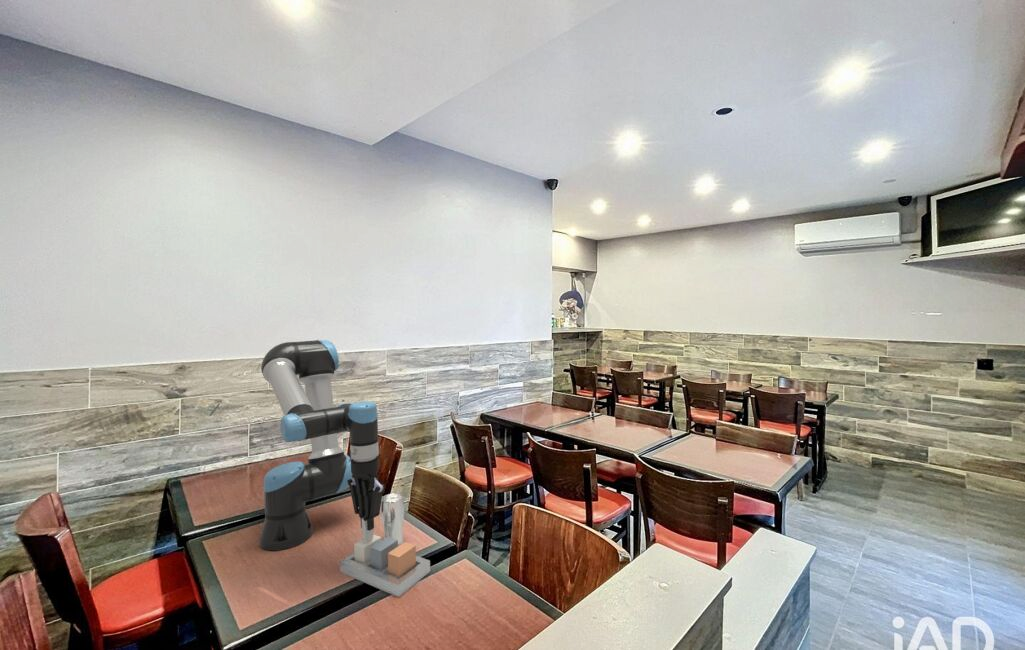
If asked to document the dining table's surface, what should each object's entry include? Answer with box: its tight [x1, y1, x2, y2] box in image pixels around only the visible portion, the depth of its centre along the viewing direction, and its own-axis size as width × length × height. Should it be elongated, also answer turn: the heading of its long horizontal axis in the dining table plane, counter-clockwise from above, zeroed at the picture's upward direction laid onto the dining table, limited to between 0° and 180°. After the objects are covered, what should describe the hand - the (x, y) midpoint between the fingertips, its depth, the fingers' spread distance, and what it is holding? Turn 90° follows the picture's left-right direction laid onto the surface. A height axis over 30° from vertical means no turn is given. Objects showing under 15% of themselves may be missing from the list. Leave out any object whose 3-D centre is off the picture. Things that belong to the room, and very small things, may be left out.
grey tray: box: [339, 552, 431, 598], centre depth 118 cm, size 22×12×4 cm, turn 60°
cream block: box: [353, 534, 382, 565], centre depth 121 cm, size 4×6×5 cm, turn 150°
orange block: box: [388, 541, 417, 576], centre depth 114 cm, size 4×6×5 cm, turn 150°
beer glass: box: [380, 492, 405, 546], centre depth 133 cm, size 7×7×15 cm
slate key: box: [370, 537, 399, 569], centre depth 117 cm, size 4×6×5 cm, turn 150°
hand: (367, 539), depth 121 cm, fingers closed
